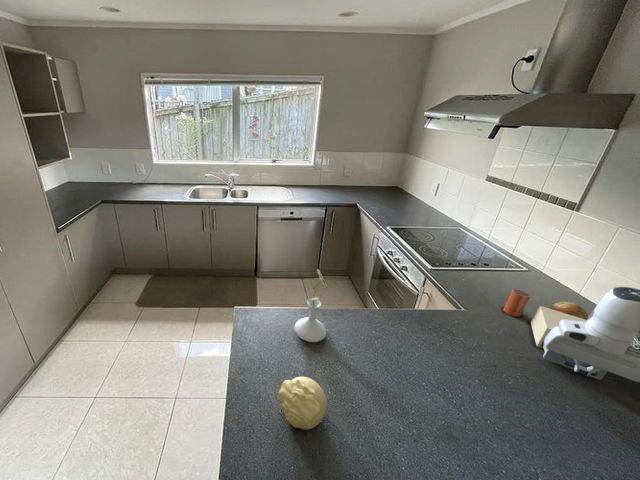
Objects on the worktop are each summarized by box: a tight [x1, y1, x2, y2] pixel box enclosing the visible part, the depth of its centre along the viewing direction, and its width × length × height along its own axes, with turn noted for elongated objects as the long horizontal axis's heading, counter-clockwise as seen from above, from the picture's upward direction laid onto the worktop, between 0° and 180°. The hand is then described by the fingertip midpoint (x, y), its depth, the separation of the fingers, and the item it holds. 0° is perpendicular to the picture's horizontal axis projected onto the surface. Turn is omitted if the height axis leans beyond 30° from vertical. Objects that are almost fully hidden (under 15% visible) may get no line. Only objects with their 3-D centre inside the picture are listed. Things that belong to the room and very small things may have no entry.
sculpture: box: [277, 376, 327, 430], centre depth 73 cm, size 11×12×11 cm
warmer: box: [530, 305, 587, 350], centre depth 101 cm, size 16×15×9 cm
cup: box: [503, 288, 531, 318], centre depth 116 cm, size 6×6×10 cm
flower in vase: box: [294, 269, 329, 343], centre depth 99 cm, size 13×11×25 cm
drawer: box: [542, 331, 608, 381], centre depth 94 cm, size 19×13×7 cm
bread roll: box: [551, 301, 589, 320], centre depth 116 cm, size 10×10×8 cm
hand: (580, 372), depth 86 cm, fingers closed
